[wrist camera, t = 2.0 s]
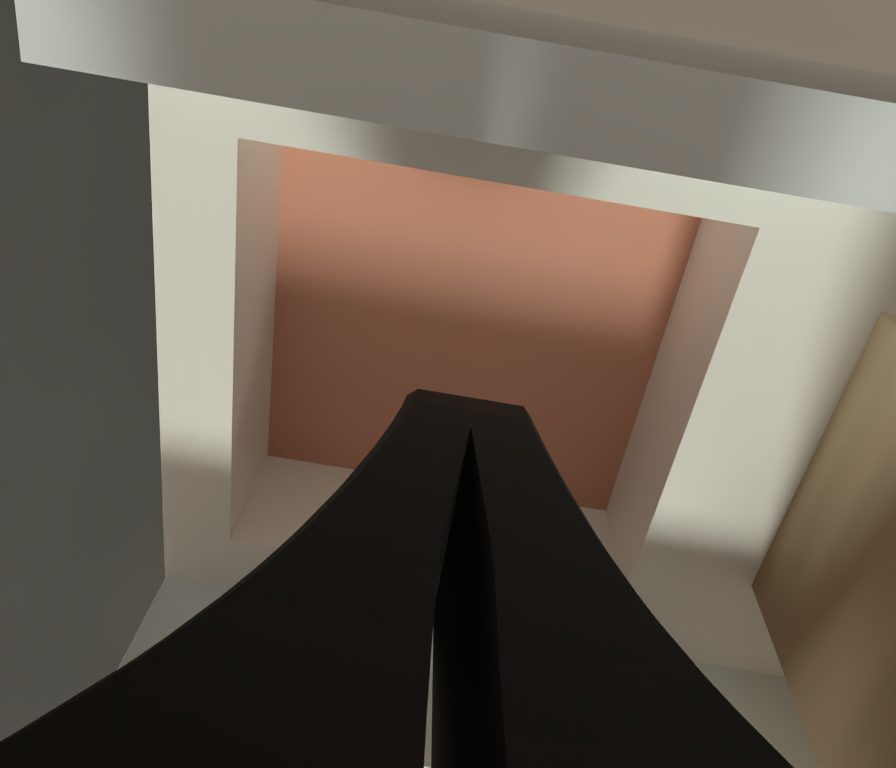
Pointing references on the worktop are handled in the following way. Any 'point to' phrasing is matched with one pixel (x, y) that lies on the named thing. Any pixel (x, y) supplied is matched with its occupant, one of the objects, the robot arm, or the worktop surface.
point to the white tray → (510, 265)
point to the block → (843, 573)
